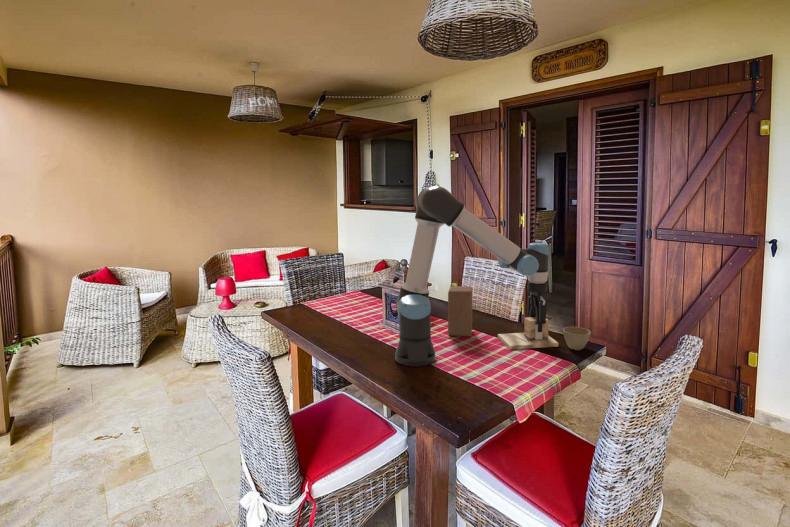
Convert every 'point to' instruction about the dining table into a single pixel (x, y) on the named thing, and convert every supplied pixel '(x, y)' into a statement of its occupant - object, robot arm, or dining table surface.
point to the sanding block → (530, 328)
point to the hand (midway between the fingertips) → (535, 336)
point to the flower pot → (576, 337)
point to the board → (525, 341)
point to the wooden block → (460, 311)
